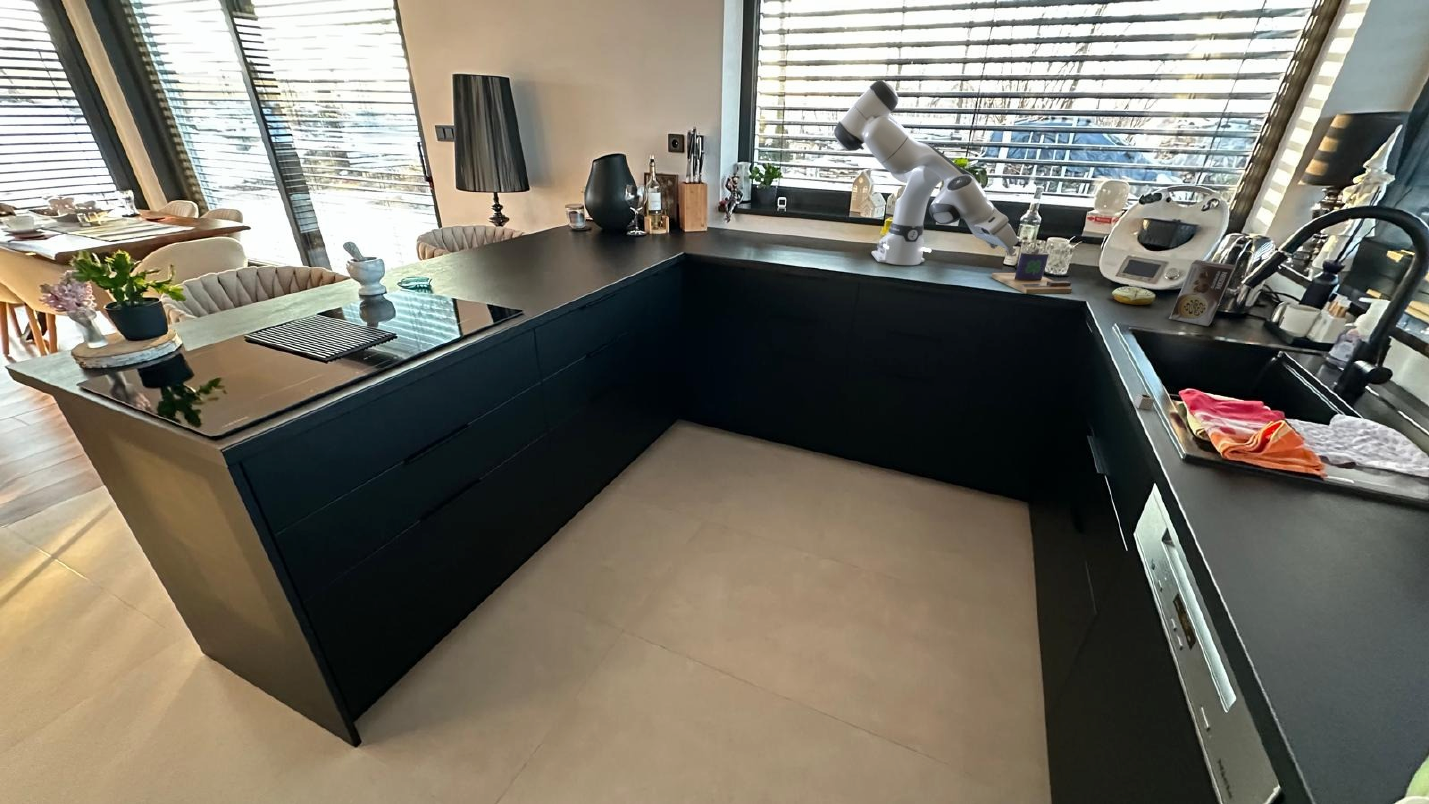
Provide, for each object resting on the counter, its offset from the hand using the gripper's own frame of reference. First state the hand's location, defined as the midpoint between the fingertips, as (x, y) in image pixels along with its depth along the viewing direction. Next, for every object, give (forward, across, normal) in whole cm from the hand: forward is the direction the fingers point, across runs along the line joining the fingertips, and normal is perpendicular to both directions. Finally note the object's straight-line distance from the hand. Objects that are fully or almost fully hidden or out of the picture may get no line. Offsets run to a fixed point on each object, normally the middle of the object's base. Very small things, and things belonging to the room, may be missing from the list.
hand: (1003, 250), depth 183 cm
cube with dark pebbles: (-8, +87, -24) cm, 90 cm away
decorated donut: (+31, +22, +15) cm, 41 cm away
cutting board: (+16, +1, 0) cm, 17 cm away
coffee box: (+33, +40, +17) cm, 54 cm away
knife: (+15, +8, +1) cm, 17 cm away
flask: (+15, 0, +1) cm, 16 cm away
